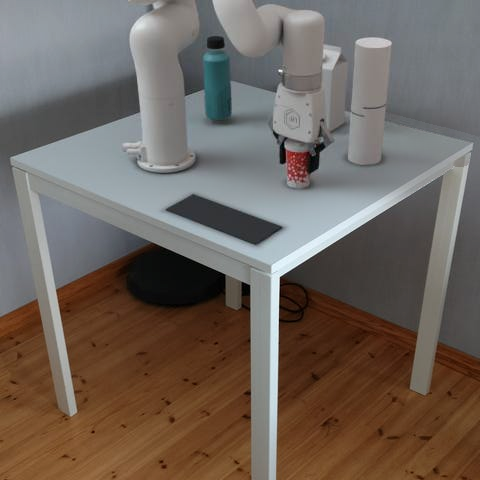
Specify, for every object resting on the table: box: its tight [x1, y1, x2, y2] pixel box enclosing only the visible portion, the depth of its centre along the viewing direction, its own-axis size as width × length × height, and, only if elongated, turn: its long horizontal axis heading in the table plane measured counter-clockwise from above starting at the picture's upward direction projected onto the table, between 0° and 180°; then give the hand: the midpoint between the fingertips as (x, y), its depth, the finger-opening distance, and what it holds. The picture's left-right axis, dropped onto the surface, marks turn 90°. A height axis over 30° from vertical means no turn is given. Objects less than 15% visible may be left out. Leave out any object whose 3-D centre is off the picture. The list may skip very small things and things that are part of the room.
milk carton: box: [321, 43, 349, 133], centre depth 183 cm, size 7×7×19 cm
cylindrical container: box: [347, 37, 393, 166], centre depth 166 cm, size 7×7×25 cm
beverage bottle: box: [202, 35, 233, 121], centre depth 186 cm, size 6×7×20 cm
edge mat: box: [165, 193, 283, 246], centre depth 150 cm, size 22×8×1 cm, turn 51°
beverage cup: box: [284, 138, 315, 189], centre depth 159 cm, size 6×6×14 cm
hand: (298, 165), depth 160 cm, fingers closed on beverage cup, 6 cm apart
